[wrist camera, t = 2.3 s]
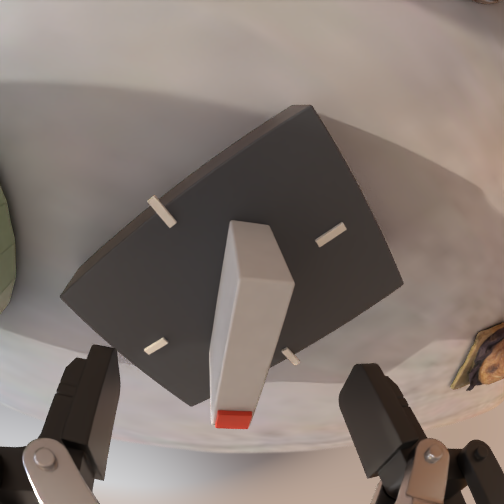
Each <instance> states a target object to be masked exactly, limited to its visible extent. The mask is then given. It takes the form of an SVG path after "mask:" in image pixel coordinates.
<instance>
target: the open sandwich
mask: <svg viewBox="0 0 504 504" xmlns="http://www.w3.org/2000/svg"><path fill="white" fill-rule="evenodd" d="M478 333H479V332H478ZM476 336H477V337H476V339H475V340H476V341H475V340H474V344H475V345H472V347H471V350H470V351H469V352H470V353H469V354H468V356H467V358H466V360H465V362H464V364H463V365H462V367H461V368H460V369H459V372H458V374H457V376H456V378H455V379H454V381H453V383H452V385H451V386H450V387H451V388H452V389H453V390H455V389H458V388H461V387H464V386H466V385H468V384H470V386H469V387H468V389H467V390H466V391H468V390H469V391H470V390H472V389H473V388H474V386H475V385H481V384H491V383H494V382H496V381H499V380H501V379H503V378H504V322H503V323H501V324H499V325H496V326H494V327H492V328H490V329H488V330H484V331H481V332H480V333H479V334H477V335H476Z"/></svg>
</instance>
